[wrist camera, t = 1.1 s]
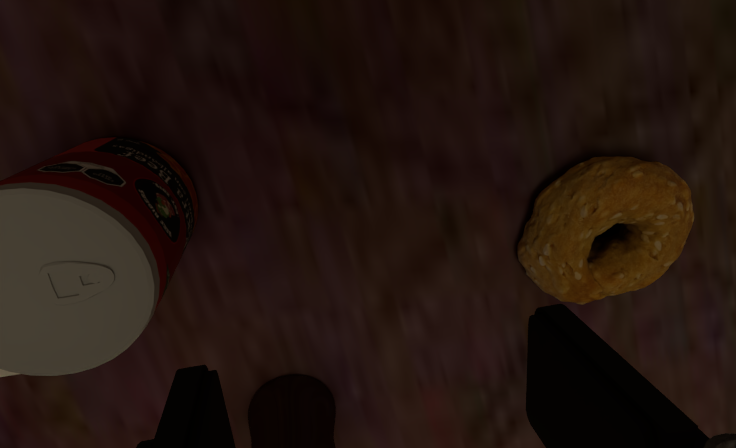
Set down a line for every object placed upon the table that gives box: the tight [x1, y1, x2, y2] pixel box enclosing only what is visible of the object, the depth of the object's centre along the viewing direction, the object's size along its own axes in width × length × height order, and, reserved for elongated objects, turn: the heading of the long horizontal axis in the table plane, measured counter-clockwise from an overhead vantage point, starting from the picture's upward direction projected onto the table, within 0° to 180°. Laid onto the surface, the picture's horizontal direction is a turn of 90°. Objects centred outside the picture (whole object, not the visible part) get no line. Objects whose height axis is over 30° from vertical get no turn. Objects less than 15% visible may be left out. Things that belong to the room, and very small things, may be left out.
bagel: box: [517, 156, 694, 304], centre depth 31 cm, size 10×11×5 cm
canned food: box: [0, 137, 198, 376], centre depth 23 cm, size 8×8×11 cm
